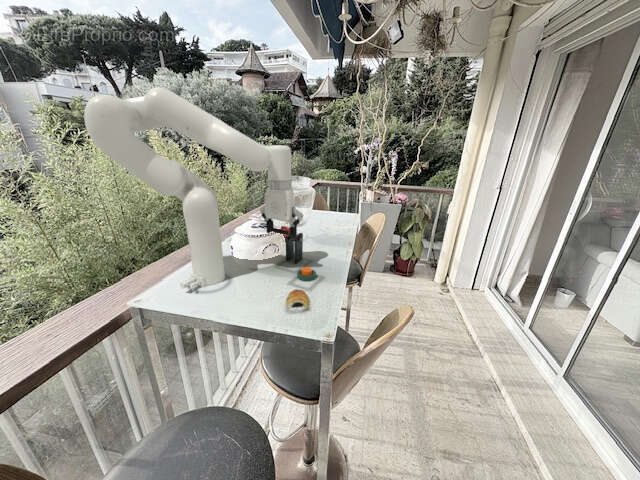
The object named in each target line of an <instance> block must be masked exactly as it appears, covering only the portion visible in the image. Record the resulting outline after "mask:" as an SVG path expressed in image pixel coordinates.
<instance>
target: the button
mask: <svg viewBox="0 0 640 480" xmlns="http://www.w3.org/2000/svg"><path fill="white" fill-rule="evenodd" d="M301 269H302V275H304V276H309V275H312V270H313V268H312V267H309V266H304V267H302V268H301Z"/></svg>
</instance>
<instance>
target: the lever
mask: <svg viewBox="0 0 640 480" xmlns="http://www.w3.org/2000/svg"><path fill="white" fill-rule="evenodd" d="M277 228H278V227H274V228H273V231H272V232H273V233H274V232H276V233H280V234H283V235H285V236H288V237H290V234H289V231H286V230H281V229H277ZM289 240H291V241H294V237H293V238H290V239H289Z"/></svg>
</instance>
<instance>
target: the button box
mask: <svg viewBox="0 0 640 480" xmlns="http://www.w3.org/2000/svg"><path fill="white" fill-rule="evenodd" d="M296 277H297V279H298V280H299V281H301V282H305V283H307V282H313V281H314V280H316V279H317V271H316V270H314V269H312V275H309V276H304V275H302V268H301V269H299V270H297V272H296Z"/></svg>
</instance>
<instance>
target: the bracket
mask: <svg viewBox="0 0 640 480" xmlns="http://www.w3.org/2000/svg"><path fill="white" fill-rule="evenodd" d="M289 234H290V232H289ZM289 239H290V237H288V236H286V241H285V262H290V261H292V260H293V259H294V265H297V264H299V263H301V262H303V253H304V251H303V250H304V249H303V247H304V246H303V245H304V242H303V241H304V240H303V239H304V233H303V232H299V233H297V234H296V236H295V237H294V241H291V240H289Z"/></svg>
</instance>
